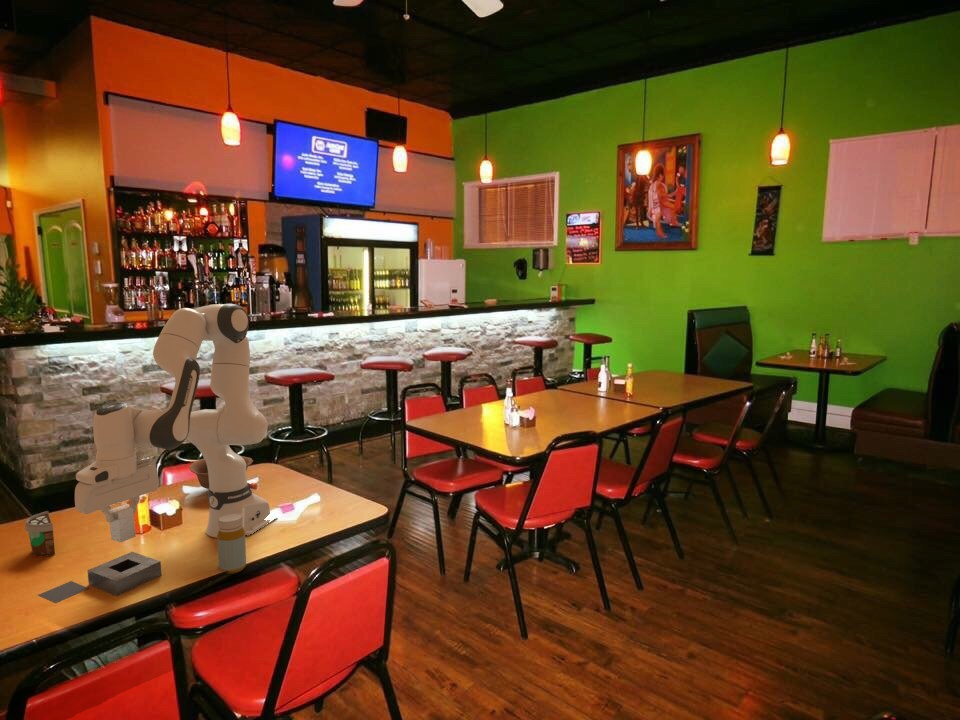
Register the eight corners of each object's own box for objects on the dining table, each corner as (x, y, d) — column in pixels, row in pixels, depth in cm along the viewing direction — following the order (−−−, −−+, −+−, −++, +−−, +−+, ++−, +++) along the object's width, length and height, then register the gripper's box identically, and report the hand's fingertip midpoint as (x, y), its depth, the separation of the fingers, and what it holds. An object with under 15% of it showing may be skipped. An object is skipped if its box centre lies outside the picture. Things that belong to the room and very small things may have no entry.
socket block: (133, 568, 167) (132, 551, 167) (161, 578, 162) (160, 561, 161) (89, 588, 157) (87, 570, 156) (117, 599, 151) (116, 581, 151)
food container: (25, 547, 180) (22, 515, 178) (51, 541, 184) (48, 510, 182) (29, 562, 170) (25, 529, 169) (55, 556, 174) (52, 523, 173)
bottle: (250, 562, 172) (247, 512, 170) (241, 574, 165) (238, 522, 163) (225, 562, 171) (222, 512, 169) (215, 574, 164) (212, 522, 162)
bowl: (202, 506, 213) (200, 476, 211) (182, 489, 229) (181, 461, 227) (263, 491, 227) (262, 463, 226) (241, 476, 244) (239, 450, 242)
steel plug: (126, 533, 161) (123, 504, 159) (135, 536, 159) (133, 507, 158) (111, 539, 157) (108, 510, 156) (120, 542, 155) (118, 513, 154)
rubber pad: (71, 584, 159) (71, 580, 159) (89, 592, 155) (89, 588, 155) (37, 598, 152) (37, 595, 152) (56, 606, 148) (55, 603, 148)
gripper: (147, 453, 166) (151, 501, 168) (68, 476, 148) (73, 529, 150) (162, 457, 163) (166, 505, 165) (83, 480, 145) (89, 535, 147)
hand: (121, 517), depth 157 cm, fingers closed on steel plug, 4 cm apart
